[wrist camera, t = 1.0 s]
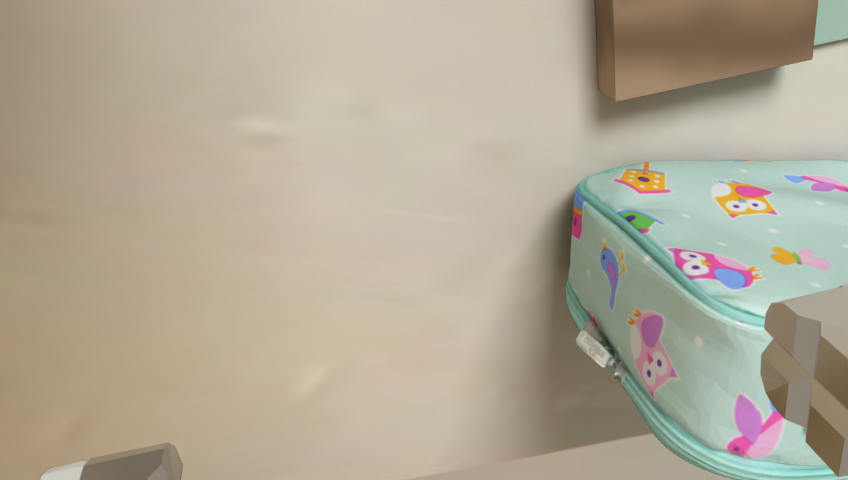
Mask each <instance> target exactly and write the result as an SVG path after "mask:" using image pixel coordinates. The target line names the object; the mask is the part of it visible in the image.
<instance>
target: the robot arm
mask: <svg viewBox="0 0 848 480" xmlns="http://www.w3.org/2000/svg"><path fill="white" fill-rule="evenodd" d="M764 329H765V330H766V331H767V332H768V334H769V335H770V336H771V337H772V338H773V339H772V341H771V342H770V343H769V345H768V346H767V347H766V349H765V350H764V351H763V353H762V354H761V370H760V375H761V378H762V382H763V385H764V389H765V393H766V394H767V396H768V398H769V400H770V401H771V403H772V405H773V407H774V408H775V409H776V410H777V411H778V412H779V413H780V414H781V416H782V417H783V418H784V419H785V420H788V421H790V422H793V423H795V424H797V425H800V426H802V427H805V428H806V437H805V442H806V443H807V444H808V445H809V446H810V447H811V448H812V450H813V451H814V452H815V453H816V454H817V455H818V456H819V457H820V458H821V459H822V460H823V461H824V463H825V464H826V465H827V466H828V467H829V468H830V469H831V470H832V471H833V472H834V473H835V474H836V475H837V477H842V476H847V475H848V284H846V285H842V286H839V287H838V288H833V289H829V290H825V291H821V292H816V293H812V294H808V295H804V296H800V297H795V298H791V299H787V300H783V301H779V302H774V303H771V305H770V306H769V308H768V310H767V312H766V315H765V324H764ZM182 469H183V463H182V461H181V459H180V457H179V454H178V452H177V450H176V448H175V446H174V445H172V444H170V443H169V442H168V443H164V444H159V445H154V446H149V447H144V448H140V449H135V450H130V451H125V452H120V453H116V454H111V455H106V456H101V457H97V458H92V459H90V460H85V461H80V462H75V463H71V464H66V465H62V466H57V467H52V468H49V469H48V470H47V471H46V472H45V473H44V474H43V475H42V476H41V478H40V480H181V477H182Z"/></svg>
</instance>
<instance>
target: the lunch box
mask: <svg viewBox="0 0 848 480" xmlns="http://www.w3.org/2000/svg"><path fill="white" fill-rule="evenodd" d="M573 206H574V213H573V222H572V238H571V252H570V269H569V278H568V280H567V282H566V285H565V291H566V300H567V304H568V308H569V311H570V314H571V316H572V318H573V320H574V322H575V324H576V326H577V328H578V329H579V331H580V333H579V335H578V337H577V338H576V344H577V345H578V346H579V347H580V348H581V349H582V350H583V351H584V352H585V353H586V354H587V355H588V356H590V357H591V358H592V359H593V360H594V361H595V362H596V363H597V364H598V365H600V366H601V367H602V368H606V366H607V367H608V369H609V370H610V371H611V373H612V375H613V376H614V377H615V379H616V380H618V381H619V383H620V384H621V385H622V386H623V388H624V389H625V391H626V392H627V394H628V395H629V396H630V398H631V399H632V400H633V402H634V404H635V405H636V407H637V408H638V410H639V412H640V413H641V415H642V416H643V418H644V420H645V421H646V423H647V424H648V426H649V428H650V429H651V431H652V432H653V434H654V435H655V436H656V437H657V438H658V440H659V441H661V443H662V444H663V445H664V446H665V447H666V448H668V449H669V450H670V451H672V452H673V453H674V454H676V455H677V456H679V457H680V458H682V459H684V460H685V461H687V462H689V463H691V464H693V465H695V466H697V467H699V468H702V469H704V470H707V471H709V472H712V473H714V474H718V475H721V476H724V477H728V478H731V479H735V480H844V479H848V475H847V476H842V477H837V475H836V474H835V473H834V472H833V471H832V470H831V469H830V468H829V467H828V466H827V465H826V464H825V463H824V461H823V460H822V459H821V458H820V457H819V456H818V455H817V454H816V453H815V452H814V451H813V450H812V448H811V447H810V446H809V445H808V444H807V443H806V442H805V437H806V428H805V427H802V426H800V425H797V424H795V423H793V422H790V421H788V420H785V419H784V418H783V417H782V416H781V414H780V413H779V412H778V411H777V410H776V409H775V408H774V407H773V405H772V403H771V401H770V400H769V398H768V396H767V394H766V393H765V389H764V385H763V382H762V378H761V375H760V370H761V354H762V353H763V351H764V350H765V349H766V347H767V346H768V345H769V343H770V342H771V341H772V339H773V338H772V337H771V336H770V335H769V334H768V332H767V331H766V330H765V329H764V324H765V315H766V312H767V310H768V308H769V306H770V305H771V303H774V302H779V301H783V300H787V299H791V298H795V297H800V296H804V295H808V294H812V293H816V292H821V291H825V290H829V289H833V288H838V287H839V286H842V285H846V284H848V161H841V160H799V161H768V162H762V161H747V160H723V161H655V162H646V163H641V164H637V165H630V166H625V167H620V168H616V169H611V170H607V171H603V172H600V173H597V174H595V175H592V176H590V177H588V178H586V179H584V180H583V181H581V183H580V184H579V185H578V186H577V187H576V188H575V194H574V203H573Z"/></svg>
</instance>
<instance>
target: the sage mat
mask: <svg viewBox="0 0 848 480" xmlns="http://www.w3.org/2000/svg"><path fill="white" fill-rule="evenodd" d="M847 38H848V0H819V1H818V10H817V20H816V29H815V38H814V45H819V44H823V43H828V42H833V41H837V40H842V39H847Z"/></svg>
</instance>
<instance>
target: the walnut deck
mask: <svg viewBox="0 0 848 480" xmlns="http://www.w3.org/2000/svg"><path fill="white" fill-rule="evenodd" d="M818 1H819V0H595V8H596V35H597V62H598V89H599V90H600V91H602V92H603V93H604V94H606V95H607V96H609V97H610V98H611V99H613V100H614V101H615V102H617V101H622V100H627V99H631V98H636V97H641V96H645V95H650V94H654V93H659V92H664V91H668V90H673V89H678V88H682V87H687V86H691V85H696V84H701V83H705V82H710V81H715V80H719V79H724V78H728V77H733V76H738V75H742V74H747V73H752V72H756V71H761V70H766V69H770V68H775V67H779V66H784V65H789V64H793V63H798V62H803V61H807V60H812V57H813V48H814V38H815V29H816V20H817V10H818Z"/></svg>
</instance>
